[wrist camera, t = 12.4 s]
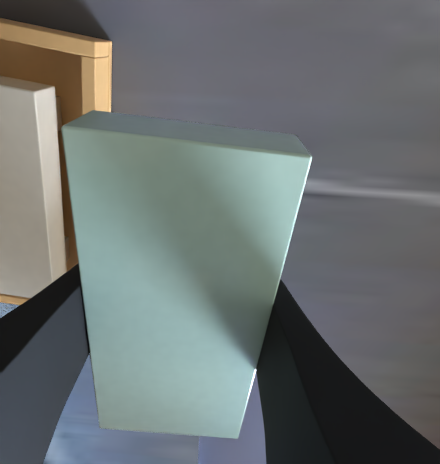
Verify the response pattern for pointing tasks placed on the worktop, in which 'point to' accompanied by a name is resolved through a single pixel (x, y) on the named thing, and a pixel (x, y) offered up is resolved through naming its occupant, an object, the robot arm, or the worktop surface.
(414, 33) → the worktop surface
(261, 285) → the sage green thick block
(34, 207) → the off-white rectangular slab
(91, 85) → the tray
